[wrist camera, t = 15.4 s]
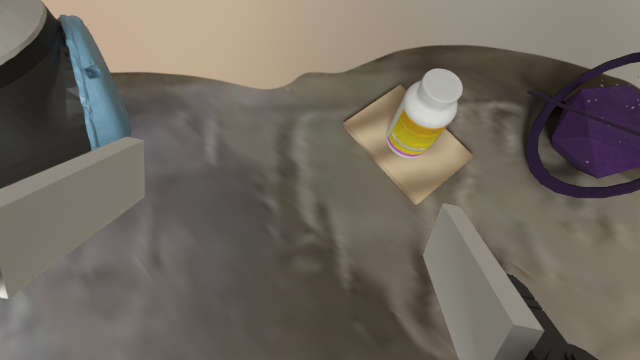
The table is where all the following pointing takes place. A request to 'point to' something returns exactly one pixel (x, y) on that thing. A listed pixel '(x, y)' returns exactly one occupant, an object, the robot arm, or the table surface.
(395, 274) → the table surface
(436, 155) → the pad
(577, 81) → the decorative bottle
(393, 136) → the supplement bottle
